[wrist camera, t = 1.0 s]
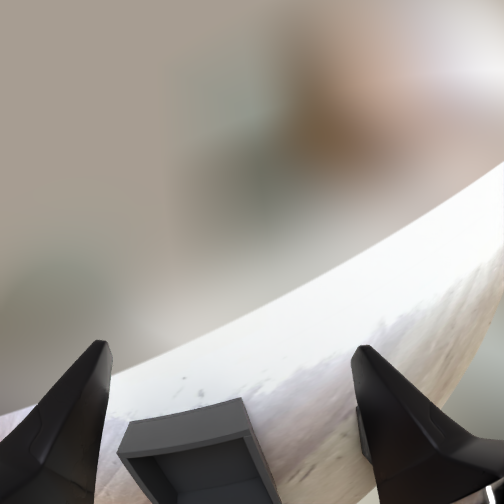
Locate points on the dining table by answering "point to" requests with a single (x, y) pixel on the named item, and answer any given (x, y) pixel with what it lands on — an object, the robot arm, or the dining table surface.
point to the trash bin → (199, 457)
